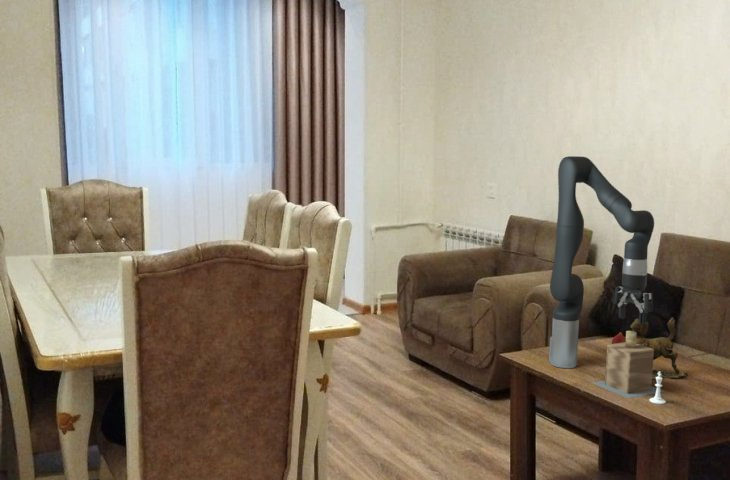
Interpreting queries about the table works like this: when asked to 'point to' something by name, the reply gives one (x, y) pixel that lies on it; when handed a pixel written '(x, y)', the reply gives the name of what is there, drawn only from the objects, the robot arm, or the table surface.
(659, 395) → the chess piece
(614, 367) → the cover
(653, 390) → the mat
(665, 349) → the figurine
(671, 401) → the table surface
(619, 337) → the onion
